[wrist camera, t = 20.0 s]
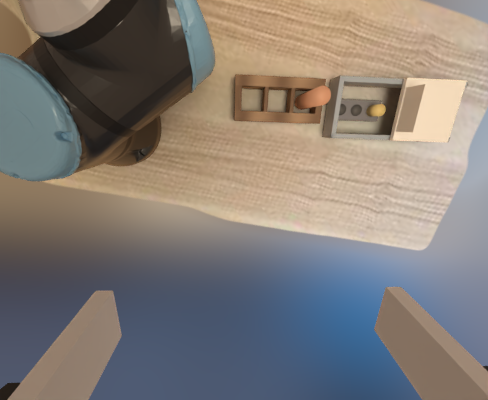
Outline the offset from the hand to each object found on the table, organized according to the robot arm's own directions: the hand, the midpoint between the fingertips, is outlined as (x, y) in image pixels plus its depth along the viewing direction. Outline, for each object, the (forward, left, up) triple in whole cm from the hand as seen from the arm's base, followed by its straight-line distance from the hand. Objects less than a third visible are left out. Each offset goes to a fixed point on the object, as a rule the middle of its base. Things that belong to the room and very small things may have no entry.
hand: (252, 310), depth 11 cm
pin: (+12, +13, -37) cm, 41 cm away
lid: (+33, +12, -32) cm, 48 cm away
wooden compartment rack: (+7, +13, -37) cm, 39 cm away
